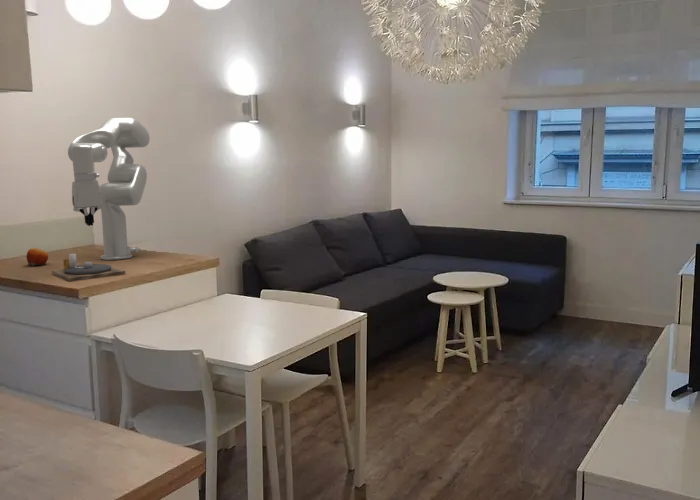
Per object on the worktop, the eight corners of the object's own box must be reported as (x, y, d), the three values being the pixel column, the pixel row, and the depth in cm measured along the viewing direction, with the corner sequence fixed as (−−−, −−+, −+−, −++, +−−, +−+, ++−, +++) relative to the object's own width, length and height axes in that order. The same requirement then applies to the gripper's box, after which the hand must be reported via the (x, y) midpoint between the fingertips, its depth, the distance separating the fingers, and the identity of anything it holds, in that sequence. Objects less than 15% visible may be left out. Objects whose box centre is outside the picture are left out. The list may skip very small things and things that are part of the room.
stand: (105, 267, 266) (104, 254, 265) (125, 274, 251) (124, 260, 250) (52, 273, 254) (50, 260, 253) (69, 281, 238) (68, 266, 237)
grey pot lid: (65, 268, 257) (64, 252, 256) (110, 265, 262) (109, 250, 261) (63, 275, 242) (62, 259, 241) (111, 272, 247) (110, 256, 246)
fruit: (18, 262, 271) (26, 244, 273) (34, 270, 277) (42, 252, 280) (29, 264, 267) (38, 245, 269) (46, 272, 273) (54, 253, 275)
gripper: (102, 175, 267) (106, 221, 271) (61, 178, 258) (67, 226, 262) (107, 176, 261) (112, 224, 265) (66, 180, 252) (72, 229, 256)
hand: (89, 225), depth 264 cm, fingers closed
